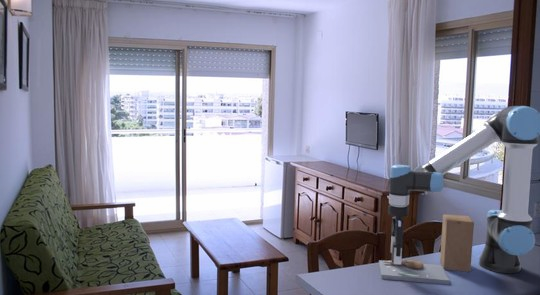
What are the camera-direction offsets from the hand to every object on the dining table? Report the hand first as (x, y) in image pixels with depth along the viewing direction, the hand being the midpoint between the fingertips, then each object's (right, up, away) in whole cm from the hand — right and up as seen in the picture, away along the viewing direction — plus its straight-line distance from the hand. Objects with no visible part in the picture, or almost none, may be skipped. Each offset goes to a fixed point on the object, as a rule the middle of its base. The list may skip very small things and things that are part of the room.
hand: (395, 258), depth 186 cm
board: (+5, -5, -4) cm, 8 cm away
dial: (+3, -3, 0) cm, 4 cm away
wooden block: (+25, -5, +4) cm, 26 cm away
